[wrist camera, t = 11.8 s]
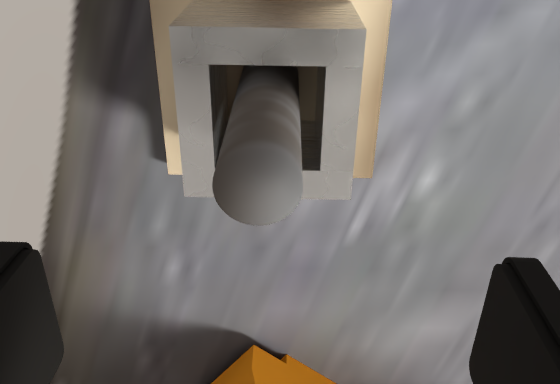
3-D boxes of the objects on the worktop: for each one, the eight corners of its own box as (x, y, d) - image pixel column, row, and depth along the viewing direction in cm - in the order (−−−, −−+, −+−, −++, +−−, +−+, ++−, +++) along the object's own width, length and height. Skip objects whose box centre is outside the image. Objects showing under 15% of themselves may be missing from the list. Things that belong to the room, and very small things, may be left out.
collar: (351, 1, 21) (366, 29, 17) (339, 145, 25) (350, 199, 20) (193, -1, 21) (168, 26, 17) (203, 143, 25) (184, 196, 20)
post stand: (393, -48, 21) (476, -1, 12) (369, 168, 26) (414, 325, 17) (150, -52, 21) (36, -8, 12) (172, 165, 26) (105, 319, 17)
